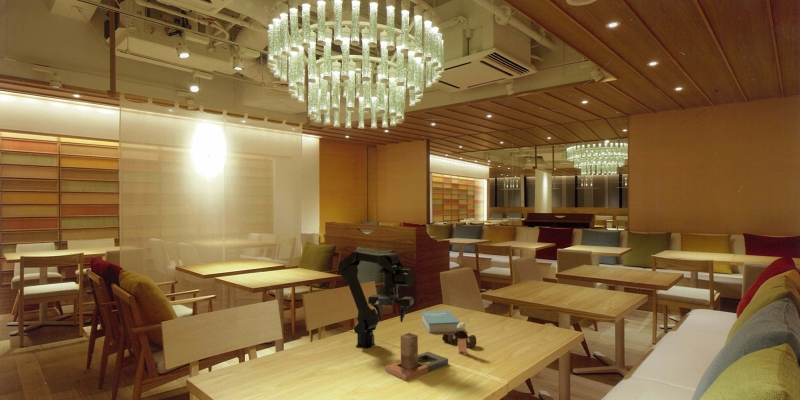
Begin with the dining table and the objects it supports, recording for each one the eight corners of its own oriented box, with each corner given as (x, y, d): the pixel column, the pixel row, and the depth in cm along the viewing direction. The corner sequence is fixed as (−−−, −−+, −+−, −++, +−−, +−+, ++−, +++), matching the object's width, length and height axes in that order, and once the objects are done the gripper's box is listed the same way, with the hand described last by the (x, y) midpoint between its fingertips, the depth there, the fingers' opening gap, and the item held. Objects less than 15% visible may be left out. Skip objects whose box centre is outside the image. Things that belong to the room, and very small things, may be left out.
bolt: (444, 345, 185) (475, 350, 176) (439, 342, 182) (470, 347, 173) (447, 332, 188) (477, 336, 179) (442, 329, 184) (472, 333, 175)
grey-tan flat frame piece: (405, 380, 143) (405, 375, 143) (385, 371, 152) (385, 366, 152) (448, 364, 158) (448, 358, 158) (428, 356, 166) (428, 351, 166)
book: (421, 320, 219) (421, 311, 219) (450, 319, 221) (450, 310, 221) (429, 333, 197) (428, 323, 197) (461, 332, 199) (461, 321, 199)
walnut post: (409, 374, 149) (408, 338, 149) (401, 370, 152) (400, 335, 153) (418, 370, 152) (417, 335, 152) (410, 367, 155) (409, 332, 155)
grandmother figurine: (472, 352, 170) (471, 322, 170) (469, 355, 166) (469, 324, 166) (454, 350, 173) (453, 320, 173) (451, 353, 169) (450, 322, 169)
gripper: (362, 286, 168) (362, 324, 168) (404, 288, 161) (405, 328, 161) (373, 281, 178) (373, 317, 178) (413, 283, 172) (414, 320, 172)
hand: (391, 320), depth 172 cm, fingers open, 9 cm apart
